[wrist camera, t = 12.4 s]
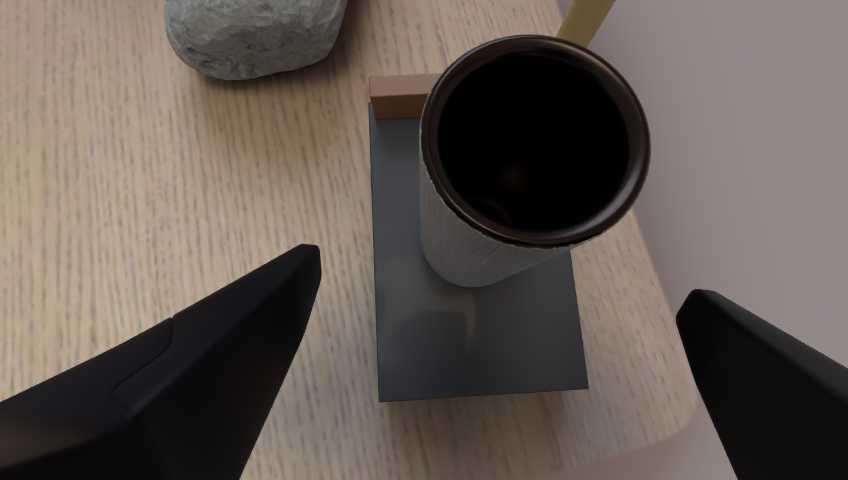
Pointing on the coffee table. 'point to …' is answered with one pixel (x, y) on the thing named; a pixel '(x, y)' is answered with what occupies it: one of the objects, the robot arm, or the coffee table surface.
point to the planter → (525, 156)
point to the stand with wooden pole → (451, 304)
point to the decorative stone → (252, 34)
